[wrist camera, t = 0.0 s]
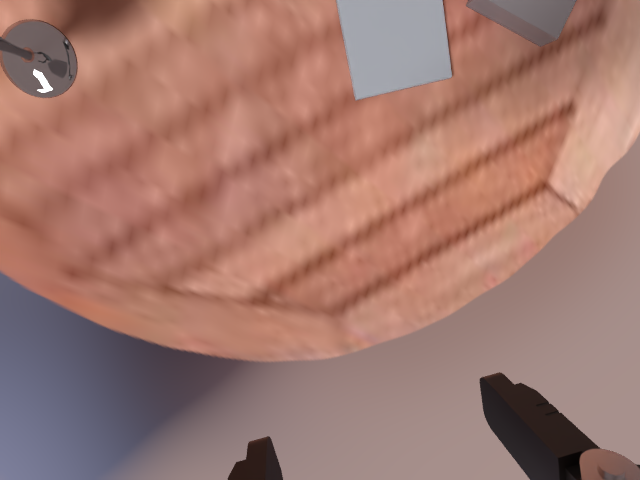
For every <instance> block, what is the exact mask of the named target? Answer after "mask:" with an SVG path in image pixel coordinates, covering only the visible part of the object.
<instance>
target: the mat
mask: <svg viewBox="0 0 640 480" xmlns="http://www.w3.org/2000/svg"><path fill="white" fill-rule="evenodd" d="M336 3H337V8H338V13H339V18H340V23H341V28H342V34H343V39H344V44H345V49H346V54H347V59H348V65H349V70H350V75H351V80H352V85H353V90H354V96H355V100H360V99H364V98H368V97H373V96H377V95H381V94H385V93H390V92H394V91H398V90H402V89H407V88H411V87H415V86H419V85H424V84H428V83H432V82H436V81H441V80H445V79H449V78H451V77H452V72H451V64H450V56H449V48H448V40H447V32H446V24H445V16H444V8H443V0H336Z"/></svg>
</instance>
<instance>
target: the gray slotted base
mask: <svg viewBox="0 0 640 480" xmlns="http://www.w3.org/2000/svg"><path fill="white" fill-rule="evenodd" d="M575 2H576V0H468V2H467V4H466V6H467V7H469V8H471V9H472V10H474V11H476V12H478V13H480V14H482V15H483V16H485V17H487V18H489V19H491V20H493V21H494V22H496V23H498V24H500V25H502V26H504V27H505V28H507V29H509V30H511V31H513V32H515V33H516V34H518V35H520V36H522V37H524V38H526V39H527V40H529V41H531V42H533V43H535V44H537V45H538V46H540V47H541V46H543V45H545V44H548V43H550V42H552V41H554V40H557V39H558V38H559V35H560V33H561V31H562V29H563V27H564V25H565V23H566V21H567V19H568V17H569V15H570V13H571V11H572V9H573V6H574V4H575Z"/></svg>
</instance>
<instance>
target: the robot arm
mask: <svg viewBox="0 0 640 480" xmlns="http://www.w3.org/2000/svg"><path fill="white" fill-rule="evenodd" d="M480 388H481V395H482V403H483V411H484V415H485V418H486V420H487V422H488V424H489V426H490V428H491V429H492V431H493V432H494V433H495V435H496V436H497V437H498V439H499V440H500V441H501V442H502V444H503V445H504V446H505V447H506V449H507V450H508V451H509V453H510V454H511V455H512V457H513V458H514V459H515V460H516V462H517V463H518V464H519V465H520V467H521V468H522V469H523V471H524V472H525V473H526V475H527V476H528V477H529V479H530V480H640V465H636V464H634V463H633V462H632V461H631V460H629V459H628V458H626V457H624V456H622V455H620V454H618V453H616V452H613V451H610V450H605V449H600V448H599V447H598V446H597V445H596V444H595V443H593V442H592V441H591V440H590V439H589V438H588V437H587V436H586V435H585V434H583V432H581V431H580V430H579V429H578V428H577V427H576V426H575V425H574V424H573V423H572V422H570V421H569V420H568V419H567V418H566V417H565V416H564V415H563V414H562V413H559V412H558V410H557V409H556V408H555V407H554V406H553V405H552V404H549V402H548V401H547V400H546V399H545V398H544V397H543V396H542V395H541V394H540V393H538V392H537V391H536V390H534V389H532V388H530V387H528V386H526V385H524V384H522V383H519V384H516V385H514V384H513V383H512V382H511V381H510V380H509V379H508V378H507V377H506V376H505V375H504V374H502V373H496V374H492V375H489V376H485V377H482V378H480ZM228 480H283V477H282V472H281V468H280V465H279V462H278V459H277V456H276V453H275V450H274V447H273V443H272V441H271V438H270V437H265V438H261V439H257V440H254V441H250V442H249V443H248V449H247V457H246V460H243V461H239V462H236V464H235V466H234V468H233V469H232V471H231V473H230V475H229V477H228Z"/></svg>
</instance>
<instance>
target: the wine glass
mask: <svg viewBox="0 0 640 480" xmlns="http://www.w3.org/2000/svg"><path fill="white" fill-rule="evenodd" d="M0 63H1V66H2V68H3V71H4V72H5V74H6V76H7V77H8V78H9V80H10V81H11V82H12V83H13V84H14V85H15V86H16V87H17V88H19V89H20V90H22V91H23V92H25V93H27V94H29V95H32V96H35V97H40V98H52V97H56V96H59V95H61V94H63V93H64V92H65V91H67V90H68V89H69V88H70V87H71V85H72V84H73V82H74V80H75V77H76V73H77V60H76V55H75V52H74V50H73V48H72V46H71V44H70V42H69V41H68V40H67V38H66V37H65V36H64V35H63V34H62V33H61V32H60V31H59V30H58V29H56V28H55V27H53V26H52V25H50V24H48V23H45V22H42V21H38V20H22V21H18V22H16V23H14V24H12V25H11V26H10V27H8V28H7V29H6V31H5V32H4V33H3V35H2V37H0Z"/></svg>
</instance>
